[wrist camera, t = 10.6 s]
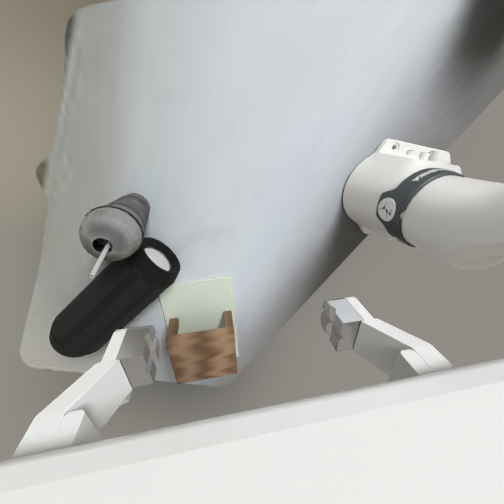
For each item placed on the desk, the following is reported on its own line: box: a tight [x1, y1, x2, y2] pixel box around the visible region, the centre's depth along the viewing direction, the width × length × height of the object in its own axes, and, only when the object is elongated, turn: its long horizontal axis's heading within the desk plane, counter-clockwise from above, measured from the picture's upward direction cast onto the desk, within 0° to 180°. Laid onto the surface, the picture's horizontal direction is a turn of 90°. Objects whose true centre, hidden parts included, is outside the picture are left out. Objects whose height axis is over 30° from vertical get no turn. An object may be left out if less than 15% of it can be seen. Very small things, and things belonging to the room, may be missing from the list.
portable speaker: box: [49, 238, 180, 357], centre depth 43 cm, size 26×10×10 cm, turn 131°
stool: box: [166, 310, 237, 384], centre depth 54 cm, size 14×7×14 cm
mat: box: [159, 276, 238, 356], centre depth 56 cm, size 16×26×1 cm, turn 1°
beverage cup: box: [79, 193, 150, 278], centre depth 32 cm, size 7×7×20 cm
